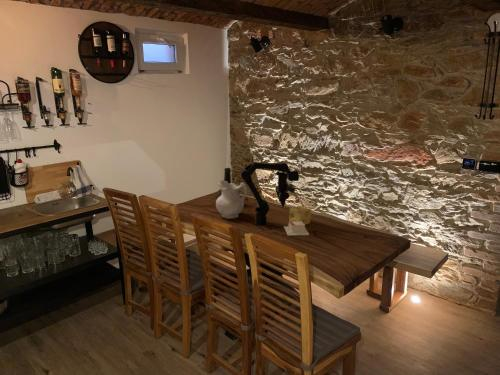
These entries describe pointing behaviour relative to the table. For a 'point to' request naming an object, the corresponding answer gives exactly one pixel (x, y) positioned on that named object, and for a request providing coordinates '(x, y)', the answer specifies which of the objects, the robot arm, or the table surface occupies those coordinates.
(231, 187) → the ceramic pitcher
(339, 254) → the table surface
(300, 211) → the cheese
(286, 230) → the grey mat
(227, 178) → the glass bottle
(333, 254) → the table surface
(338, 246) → the table surface
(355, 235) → the table surface
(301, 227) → the card box
